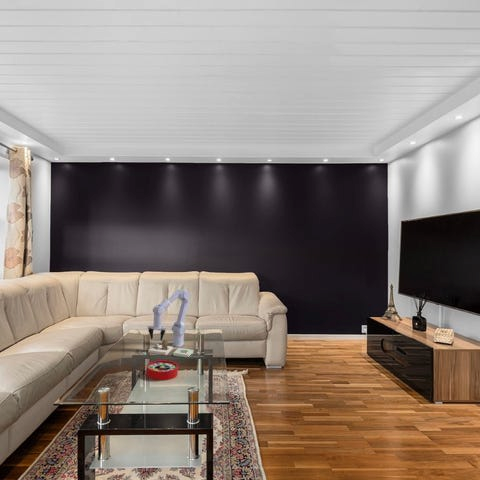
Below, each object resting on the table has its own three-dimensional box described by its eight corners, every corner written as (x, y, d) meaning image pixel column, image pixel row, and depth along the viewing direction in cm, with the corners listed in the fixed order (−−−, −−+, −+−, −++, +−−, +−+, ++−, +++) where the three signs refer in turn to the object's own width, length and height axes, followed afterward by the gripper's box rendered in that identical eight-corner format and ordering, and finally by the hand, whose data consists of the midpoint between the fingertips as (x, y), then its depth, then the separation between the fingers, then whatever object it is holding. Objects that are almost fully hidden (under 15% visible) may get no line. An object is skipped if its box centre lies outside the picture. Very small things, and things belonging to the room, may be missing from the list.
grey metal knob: (154, 346, 317) (154, 342, 317) (159, 346, 316) (159, 343, 316) (152, 347, 313) (152, 343, 313) (157, 348, 312) (157, 344, 312)
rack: (178, 350, 317) (178, 347, 317) (193, 352, 315) (193, 349, 315) (172, 355, 306) (173, 352, 305) (188, 357, 303) (188, 354, 303)
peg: (162, 350, 316) (163, 339, 315) (167, 350, 315) (168, 340, 314) (160, 351, 312) (161, 341, 311) (165, 352, 311) (166, 342, 310)
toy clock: (143, 370, 259) (149, 359, 279) (143, 379, 259) (149, 368, 279) (176, 372, 259) (179, 361, 279) (175, 381, 260) (179, 369, 280)
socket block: (155, 346, 322) (155, 344, 322) (172, 349, 319) (172, 346, 319) (148, 352, 308) (148, 349, 308) (166, 355, 306) (166, 352, 305)
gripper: (146, 321, 310) (145, 339, 311) (164, 324, 308) (163, 342, 309) (150, 319, 317) (149, 337, 318) (168, 321, 315) (167, 339, 315)
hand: (156, 339), depth 314 cm, fingers open, 7 cm apart
